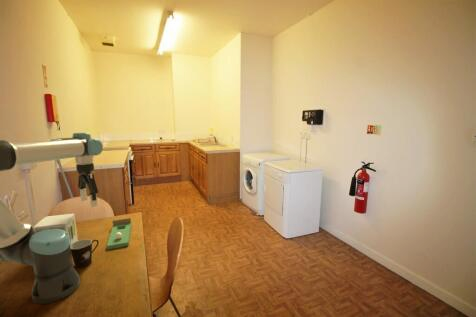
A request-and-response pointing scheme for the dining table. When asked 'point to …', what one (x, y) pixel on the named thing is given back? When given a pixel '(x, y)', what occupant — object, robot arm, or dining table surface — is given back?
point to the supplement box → (59, 225)
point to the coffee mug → (82, 252)
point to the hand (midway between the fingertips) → (89, 203)
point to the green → (122, 227)
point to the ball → (118, 235)
